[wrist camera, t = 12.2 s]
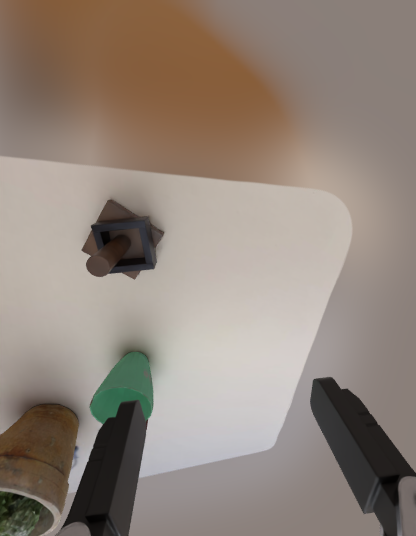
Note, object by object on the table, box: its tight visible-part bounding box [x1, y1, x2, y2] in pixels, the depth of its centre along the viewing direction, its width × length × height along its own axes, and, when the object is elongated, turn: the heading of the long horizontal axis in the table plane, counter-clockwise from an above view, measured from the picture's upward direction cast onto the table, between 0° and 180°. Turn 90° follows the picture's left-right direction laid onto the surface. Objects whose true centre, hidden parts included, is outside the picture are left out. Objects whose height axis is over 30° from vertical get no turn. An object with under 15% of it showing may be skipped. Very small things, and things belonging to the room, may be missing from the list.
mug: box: [90, 352, 153, 430], centre depth 41 cm, size 15×10×10 cm
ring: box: [91, 217, 157, 274], centre depth 33 cm, size 7×7×3 cm
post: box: [82, 200, 164, 279], centre depth 30 cm, size 9×9×11 cm
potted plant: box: [0, 404, 79, 536], centre depth 38 cm, size 18×19×25 cm
